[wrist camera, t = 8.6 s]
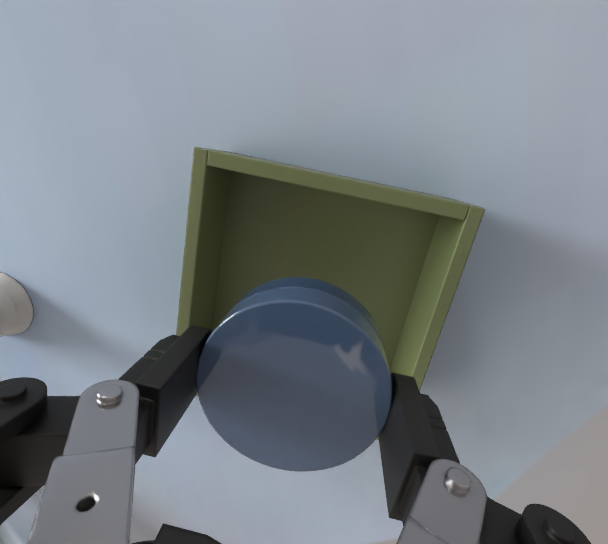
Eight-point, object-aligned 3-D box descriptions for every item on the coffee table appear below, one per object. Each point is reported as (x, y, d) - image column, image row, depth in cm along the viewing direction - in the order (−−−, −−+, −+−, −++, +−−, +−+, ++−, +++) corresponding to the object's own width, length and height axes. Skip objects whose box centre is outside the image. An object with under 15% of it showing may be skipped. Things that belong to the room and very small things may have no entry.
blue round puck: (211, 402, 14) (186, 446, 12) (231, 259, 13) (206, 279, 10) (361, 439, 14) (364, 491, 12) (405, 298, 12) (419, 328, 10)
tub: (202, 347, 24) (170, 389, 20) (226, 151, 20) (193, 146, 16) (389, 392, 24) (400, 445, 19) (452, 199, 20) (486, 208, 15)
